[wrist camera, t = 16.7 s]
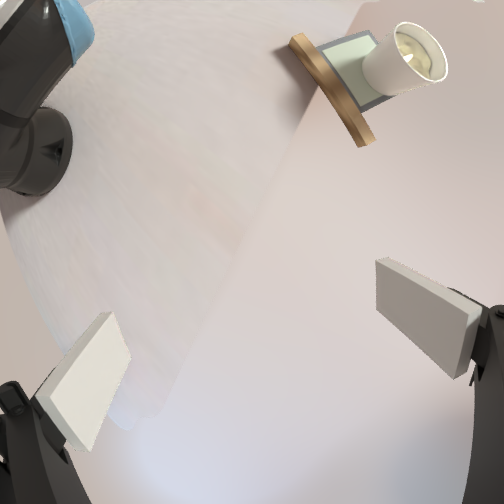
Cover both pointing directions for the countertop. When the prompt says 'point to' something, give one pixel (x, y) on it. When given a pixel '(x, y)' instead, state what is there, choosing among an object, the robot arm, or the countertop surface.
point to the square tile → (353, 67)
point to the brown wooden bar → (332, 89)
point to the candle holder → (404, 61)
